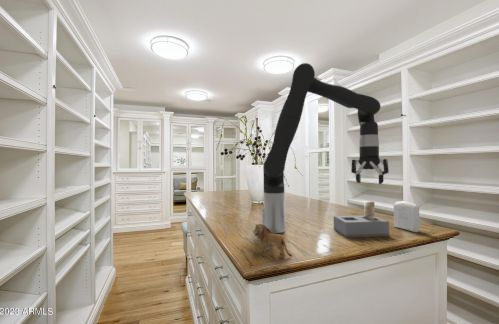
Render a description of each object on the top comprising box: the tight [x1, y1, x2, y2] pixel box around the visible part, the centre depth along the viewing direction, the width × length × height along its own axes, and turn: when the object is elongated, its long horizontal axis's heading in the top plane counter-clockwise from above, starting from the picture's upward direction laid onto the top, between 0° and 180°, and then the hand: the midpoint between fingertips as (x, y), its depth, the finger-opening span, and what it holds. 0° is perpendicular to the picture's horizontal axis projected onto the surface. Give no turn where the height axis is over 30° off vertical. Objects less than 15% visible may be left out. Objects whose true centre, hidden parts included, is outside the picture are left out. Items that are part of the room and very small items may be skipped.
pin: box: [363, 200, 376, 220], centre depth 102 cm, size 4×4×12 cm
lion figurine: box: [252, 223, 293, 259], centre depth 79 cm, size 15×5×9 cm, turn 52°
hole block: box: [333, 214, 390, 238], centre depth 101 cm, size 18×12×6 cm, turn 93°
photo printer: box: [393, 200, 420, 233], centre depth 106 cm, size 10×4×12 cm, turn 23°
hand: (369, 183), depth 102 cm, fingers open, 8 cm apart
